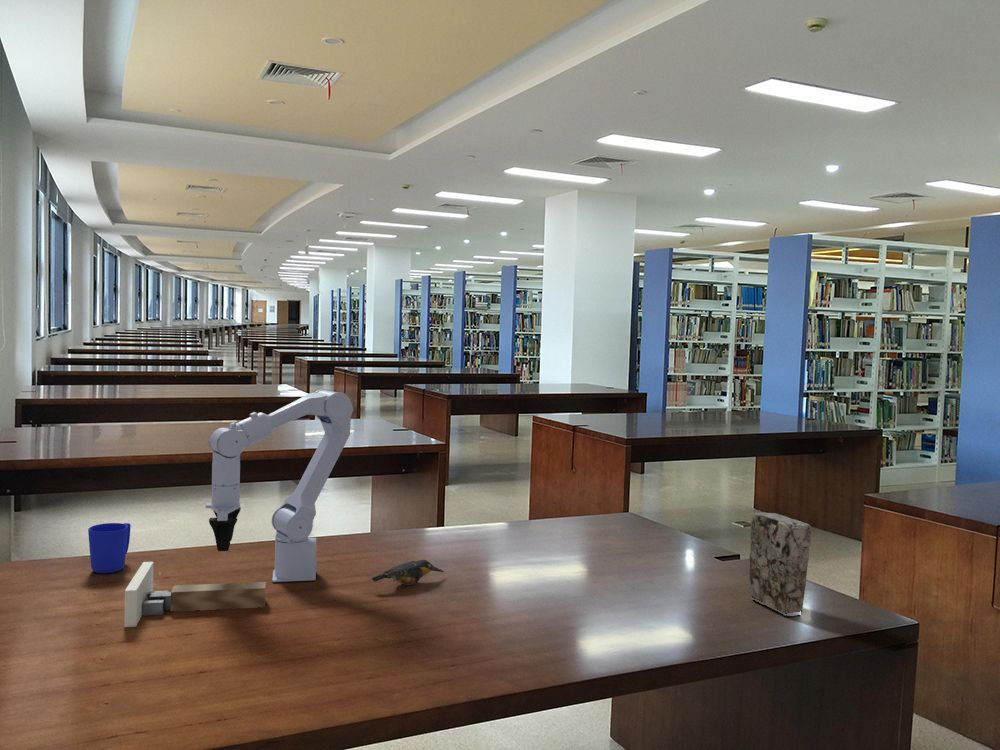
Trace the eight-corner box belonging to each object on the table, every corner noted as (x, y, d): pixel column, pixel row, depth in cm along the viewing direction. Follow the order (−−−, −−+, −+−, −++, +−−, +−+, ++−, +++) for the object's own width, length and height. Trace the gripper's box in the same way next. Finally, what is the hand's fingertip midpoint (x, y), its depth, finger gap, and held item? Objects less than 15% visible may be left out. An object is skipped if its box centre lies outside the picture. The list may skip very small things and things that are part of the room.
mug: (144, 561, 187) (144, 520, 186) (114, 577, 175) (114, 533, 174) (111, 559, 188) (112, 517, 187) (79, 574, 176) (80, 530, 175)
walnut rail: (265, 600, 164) (265, 581, 164) (264, 607, 160) (265, 588, 160) (152, 605, 158) (152, 586, 158) (148, 613, 155) (149, 593, 154)
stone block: (809, 615, 167) (815, 523, 166) (785, 619, 164) (791, 526, 163) (763, 595, 179) (769, 509, 178) (740, 599, 176) (745, 511, 175)
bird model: (377, 596, 169) (378, 573, 169) (365, 589, 173) (366, 567, 172) (449, 579, 182) (450, 558, 182) (437, 574, 186) (437, 553, 185)
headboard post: (172, 593, 166) (172, 561, 165) (157, 625, 148) (158, 589, 148) (142, 594, 164) (143, 562, 164) (124, 627, 147) (124, 590, 147)
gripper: (210, 477, 175) (209, 537, 176) (202, 491, 161) (201, 555, 162) (243, 477, 177) (241, 536, 178) (238, 490, 163) (237, 554, 164)
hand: (224, 545), depth 170 cm, fingers open, 7 cm apart
